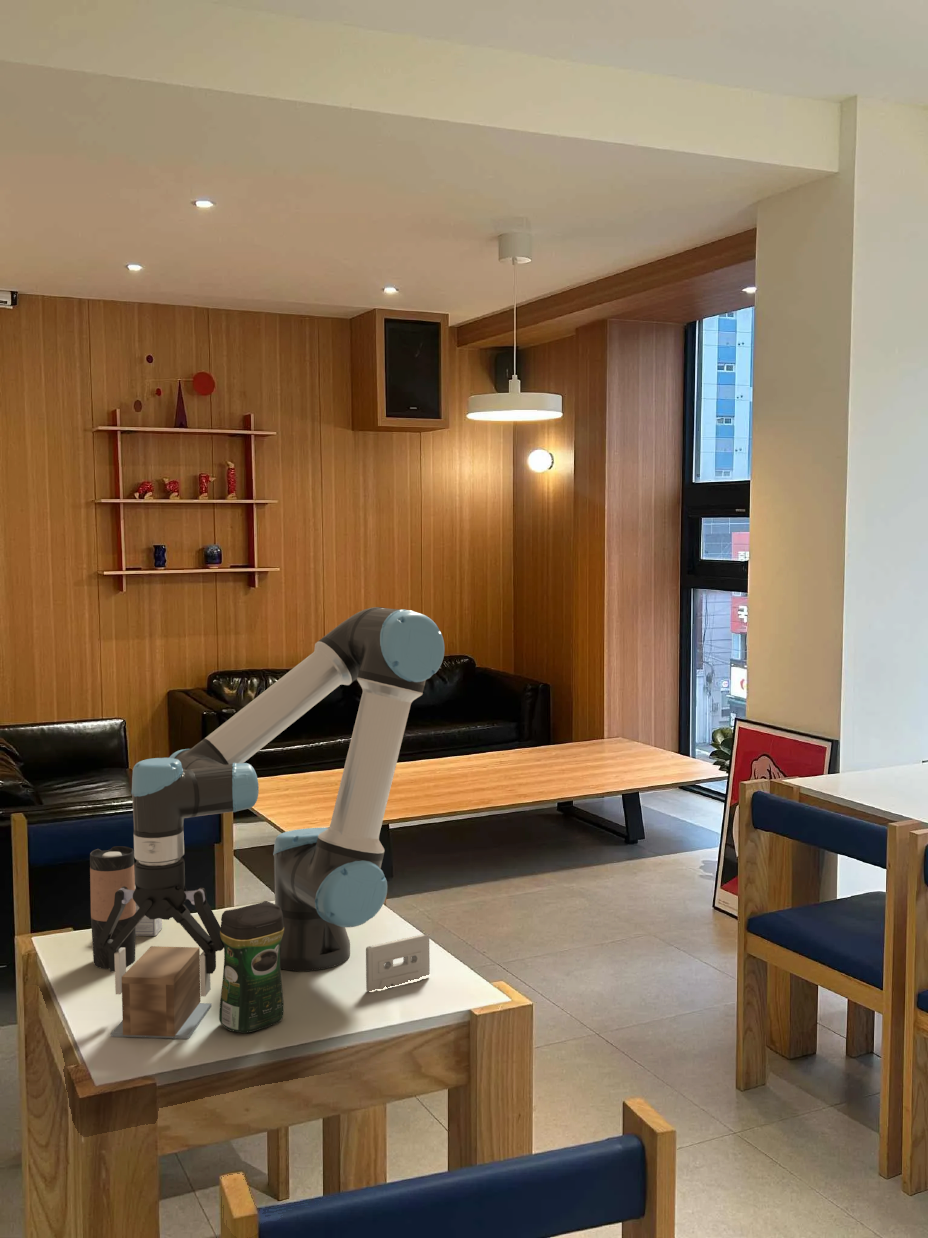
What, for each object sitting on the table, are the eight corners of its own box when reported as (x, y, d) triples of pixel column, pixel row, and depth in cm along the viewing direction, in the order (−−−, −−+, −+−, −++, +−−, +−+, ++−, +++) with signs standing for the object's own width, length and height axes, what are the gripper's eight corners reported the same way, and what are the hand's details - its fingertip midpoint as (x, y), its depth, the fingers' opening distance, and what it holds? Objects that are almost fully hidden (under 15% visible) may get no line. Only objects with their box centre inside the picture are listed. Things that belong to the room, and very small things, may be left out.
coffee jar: (262, 1006, 186) (264, 893, 185) (291, 1022, 180) (293, 906, 179) (209, 1022, 179) (211, 905, 178) (238, 1039, 174) (240, 919, 172)
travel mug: (123, 971, 201) (121, 859, 200) (83, 968, 203) (80, 856, 201) (144, 955, 209) (142, 847, 207) (105, 952, 210) (103, 845, 209)
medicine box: (162, 929, 223) (161, 885, 222) (155, 937, 219) (154, 892, 218) (122, 928, 223) (121, 885, 223) (114, 936, 219) (113, 892, 218)
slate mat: (211, 1006, 186) (211, 1003, 186) (188, 1038, 174) (188, 1035, 174) (139, 1004, 187) (139, 1001, 187) (111, 1036, 175) (111, 1033, 175)
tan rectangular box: (200, 1001, 187) (199, 947, 186) (174, 1036, 174) (173, 978, 173) (152, 1000, 188) (151, 946, 187) (122, 1035, 175) (121, 977, 174)
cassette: (369, 994, 191) (369, 949, 191) (364, 991, 193) (364, 946, 192) (431, 979, 198) (431, 935, 197) (425, 976, 199) (425, 932, 199)
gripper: (71, 865, 176) (76, 1000, 178) (231, 867, 174) (234, 1003, 176) (90, 851, 184) (95, 981, 185) (244, 853, 182) (247, 984, 183)
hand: (163, 992), depth 181 cm, fingers open, 13 cm apart
